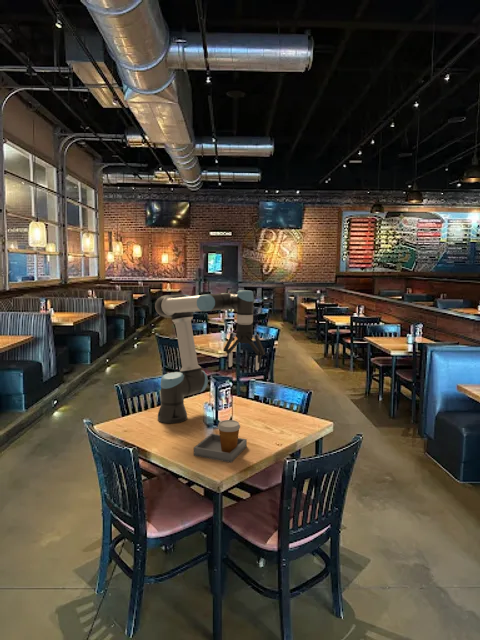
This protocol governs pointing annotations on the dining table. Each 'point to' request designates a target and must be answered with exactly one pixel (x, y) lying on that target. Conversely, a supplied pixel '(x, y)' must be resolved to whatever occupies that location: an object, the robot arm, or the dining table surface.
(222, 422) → the disposable coffee cup
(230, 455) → the tray
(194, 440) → the dining table surface
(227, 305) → the robot arm
